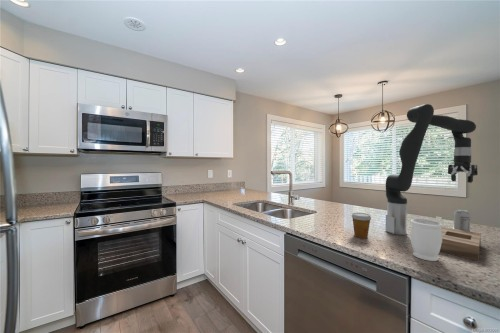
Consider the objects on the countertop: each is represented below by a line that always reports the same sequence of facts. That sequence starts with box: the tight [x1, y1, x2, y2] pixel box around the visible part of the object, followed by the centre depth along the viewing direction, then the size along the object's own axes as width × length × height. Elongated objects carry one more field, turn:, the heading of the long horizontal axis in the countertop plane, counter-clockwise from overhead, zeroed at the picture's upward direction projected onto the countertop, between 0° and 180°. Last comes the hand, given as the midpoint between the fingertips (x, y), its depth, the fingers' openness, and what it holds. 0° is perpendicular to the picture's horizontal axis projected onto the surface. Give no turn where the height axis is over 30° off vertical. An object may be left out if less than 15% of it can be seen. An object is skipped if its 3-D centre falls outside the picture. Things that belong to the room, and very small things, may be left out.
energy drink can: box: [453, 209, 471, 232], centre depth 113 cm, size 6×6×15 cm
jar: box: [409, 218, 443, 262], centre depth 90 cm, size 11×10×15 cm
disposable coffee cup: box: [351, 212, 372, 239], centre depth 115 cm, size 10×10×12 cm
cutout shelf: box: [439, 226, 482, 261], centre depth 100 cm, size 24×14×6 cm, turn 131°
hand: (461, 181), depth 129 cm, fingers open, 8 cm apart
